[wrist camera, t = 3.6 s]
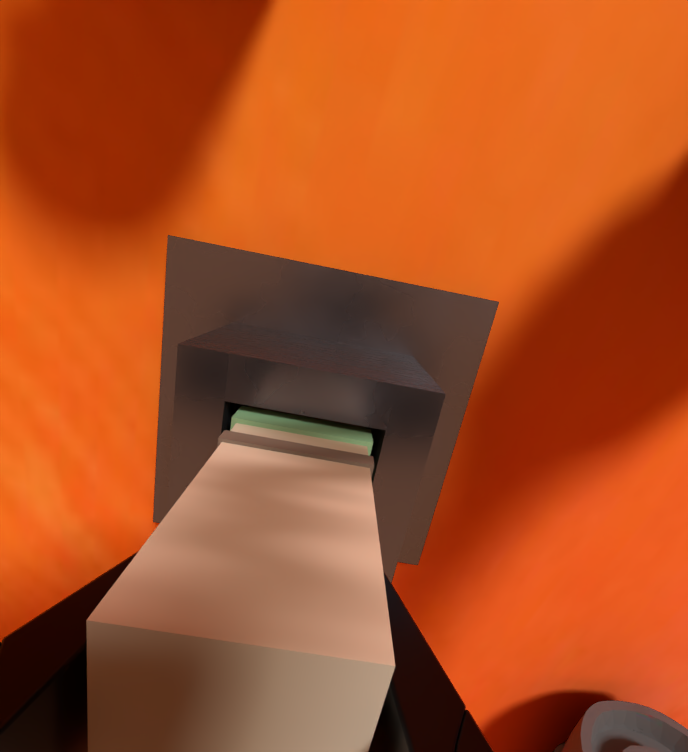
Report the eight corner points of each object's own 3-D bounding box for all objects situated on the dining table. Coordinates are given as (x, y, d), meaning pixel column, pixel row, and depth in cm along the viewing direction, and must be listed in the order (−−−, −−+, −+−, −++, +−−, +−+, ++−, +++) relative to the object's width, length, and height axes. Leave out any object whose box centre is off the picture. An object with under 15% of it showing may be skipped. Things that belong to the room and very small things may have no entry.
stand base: (491, 300, 15) (603, 317, 9) (414, 553, 19) (452, 702, 12) (177, 237, 15) (36, 202, 8) (161, 511, 19) (55, 644, 12)
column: (367, 411, 13) (409, 660, 5) (345, 507, 14) (346, 849, 6) (254, 390, 13) (74, 609, 4) (240, 489, 14) (78, 818, 5)
